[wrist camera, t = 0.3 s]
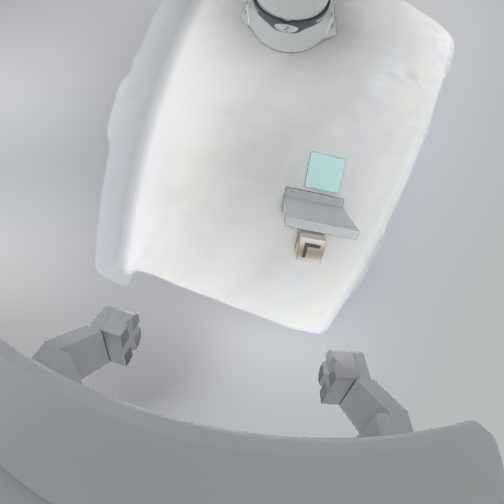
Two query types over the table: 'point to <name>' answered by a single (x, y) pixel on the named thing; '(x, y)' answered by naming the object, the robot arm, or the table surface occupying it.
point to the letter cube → (310, 246)
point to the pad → (325, 172)
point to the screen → (317, 213)
